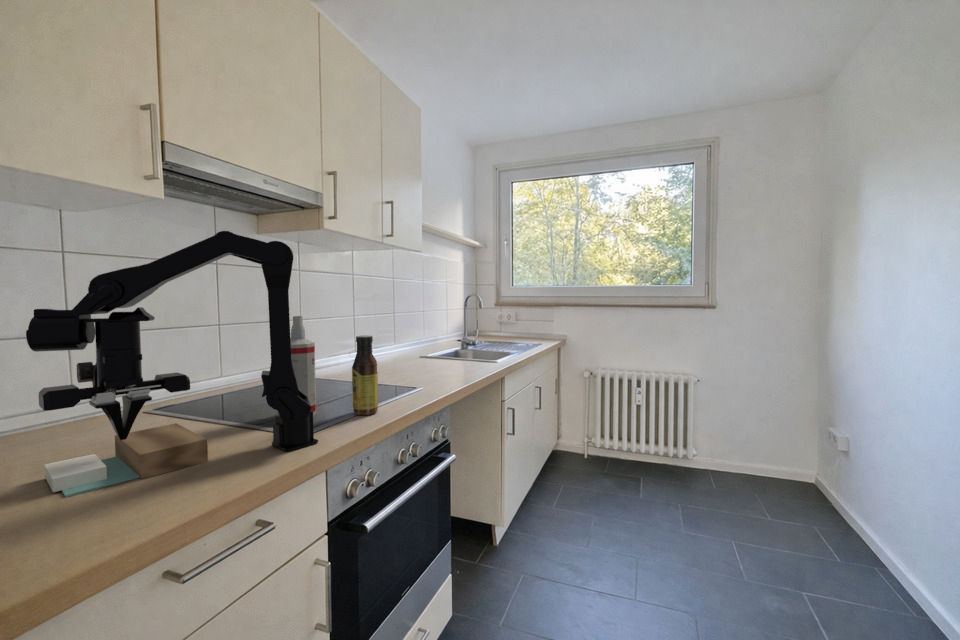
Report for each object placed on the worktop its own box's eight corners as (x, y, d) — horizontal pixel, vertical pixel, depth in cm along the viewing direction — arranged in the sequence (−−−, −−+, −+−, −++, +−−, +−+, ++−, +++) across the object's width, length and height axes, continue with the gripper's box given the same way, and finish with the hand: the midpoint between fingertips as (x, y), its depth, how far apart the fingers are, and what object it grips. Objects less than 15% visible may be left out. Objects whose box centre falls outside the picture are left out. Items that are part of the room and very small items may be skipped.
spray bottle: (277, 415, 103) (274, 316, 102) (305, 409, 109) (303, 315, 108) (293, 421, 99) (291, 316, 98) (321, 414, 105) (320, 315, 104)
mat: (120, 457, 76) (120, 455, 76) (143, 476, 67) (143, 474, 67) (50, 473, 69) (50, 471, 69) (65, 497, 60) (65, 495, 60)
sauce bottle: (355, 410, 108) (354, 334, 108) (379, 409, 109) (378, 334, 108) (350, 417, 102) (349, 336, 101) (376, 416, 103) (375, 336, 102)
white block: (44, 464, 66) (44, 476, 67) (52, 479, 61) (53, 492, 61) (94, 453, 71) (95, 465, 71) (106, 466, 66) (106, 478, 66)
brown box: (177, 442, 83) (176, 423, 83) (208, 461, 74) (207, 439, 74) (115, 456, 76) (114, 435, 76) (141, 479, 66) (140, 454, 66)
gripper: (169, 341, 82) (172, 419, 83) (31, 350, 67) (36, 444, 68) (189, 344, 75) (192, 429, 76) (41, 355, 61) (46, 460, 61)
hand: (122, 439), depth 71 cm, fingers closed
